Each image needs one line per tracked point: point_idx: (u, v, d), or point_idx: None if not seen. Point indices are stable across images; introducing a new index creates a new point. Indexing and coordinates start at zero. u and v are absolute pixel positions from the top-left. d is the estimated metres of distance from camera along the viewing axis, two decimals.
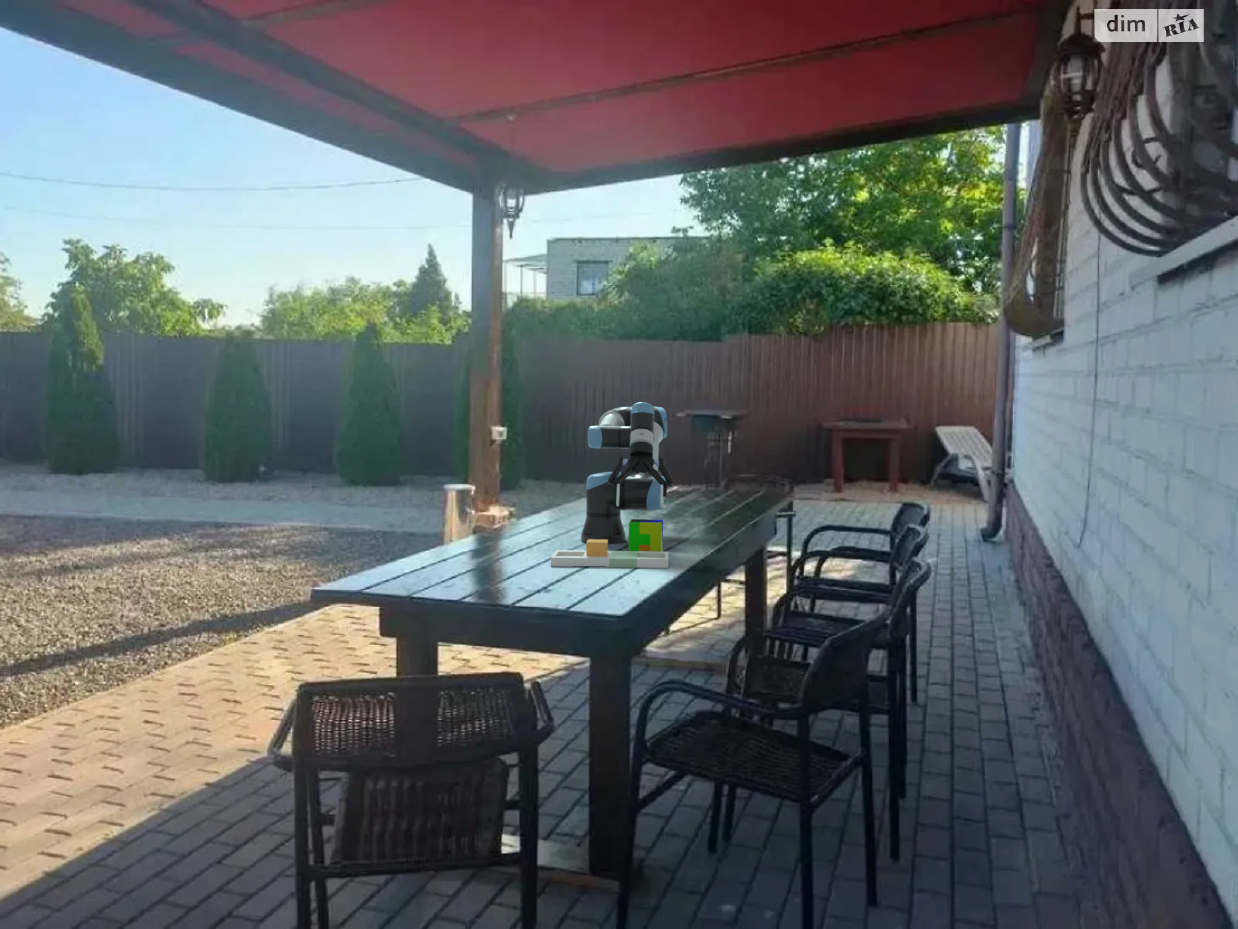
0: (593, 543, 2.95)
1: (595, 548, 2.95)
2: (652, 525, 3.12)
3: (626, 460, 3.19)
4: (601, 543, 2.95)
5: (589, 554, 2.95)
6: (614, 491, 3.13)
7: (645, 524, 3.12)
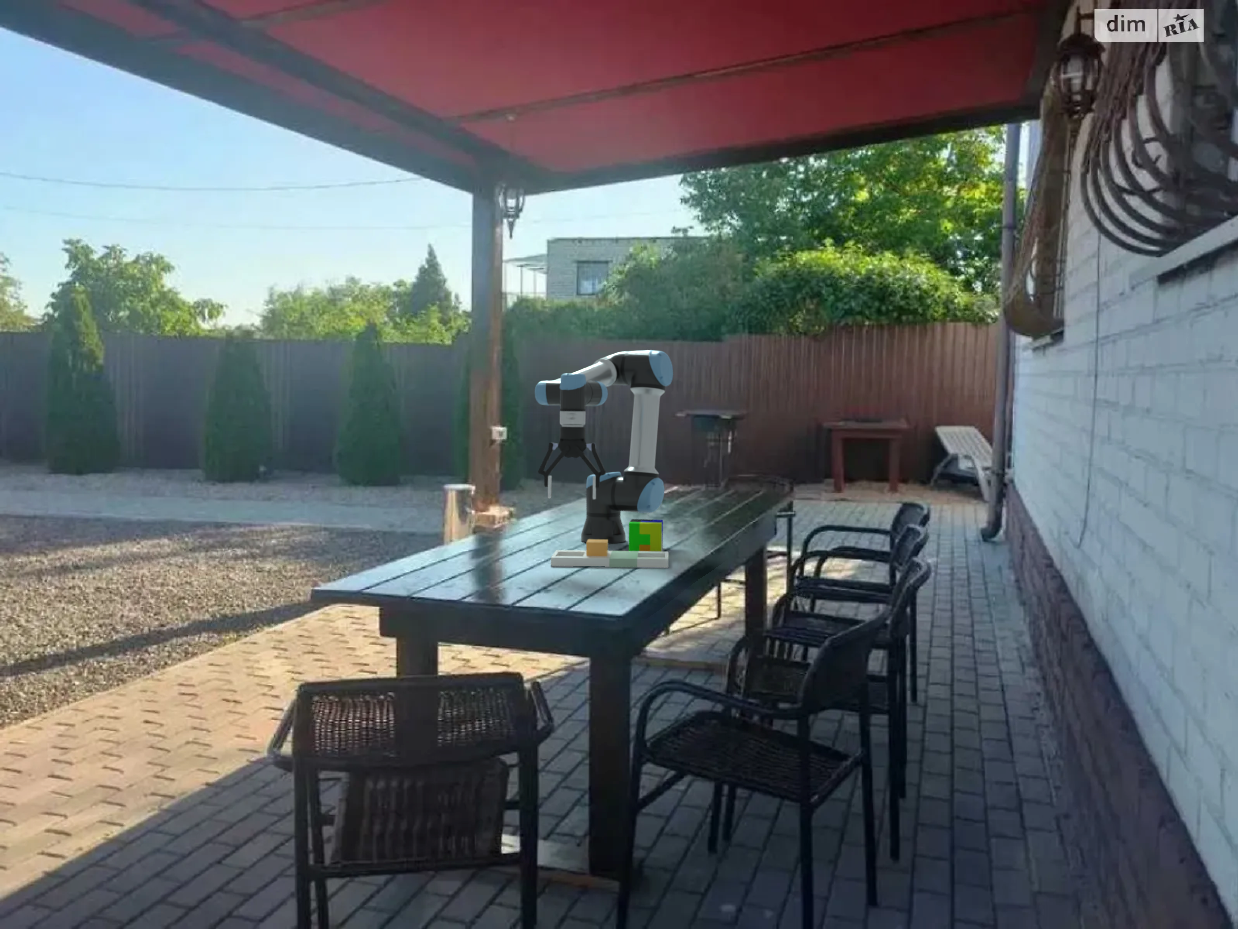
0: (593, 543, 2.95)
1: (595, 548, 2.95)
2: (652, 525, 3.12)
3: (556, 445, 2.96)
4: (601, 543, 2.95)
5: (589, 554, 2.95)
6: (545, 484, 2.97)
7: (645, 524, 3.12)
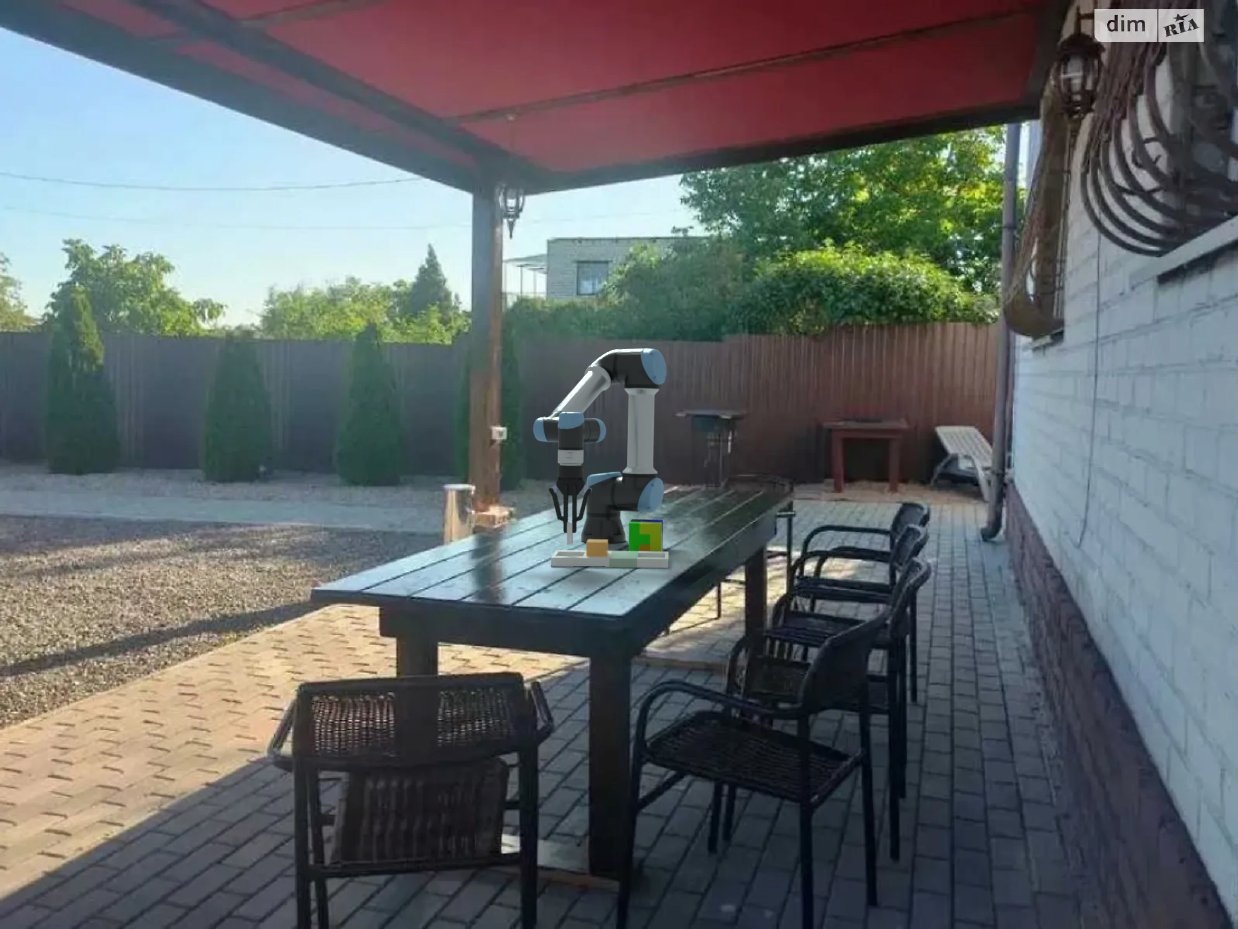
0: (593, 543, 2.95)
1: (595, 548, 2.95)
2: (652, 525, 3.12)
3: (555, 486, 2.97)
4: (601, 543, 2.95)
5: (589, 554, 2.95)
6: (564, 530, 2.97)
7: (645, 524, 3.12)
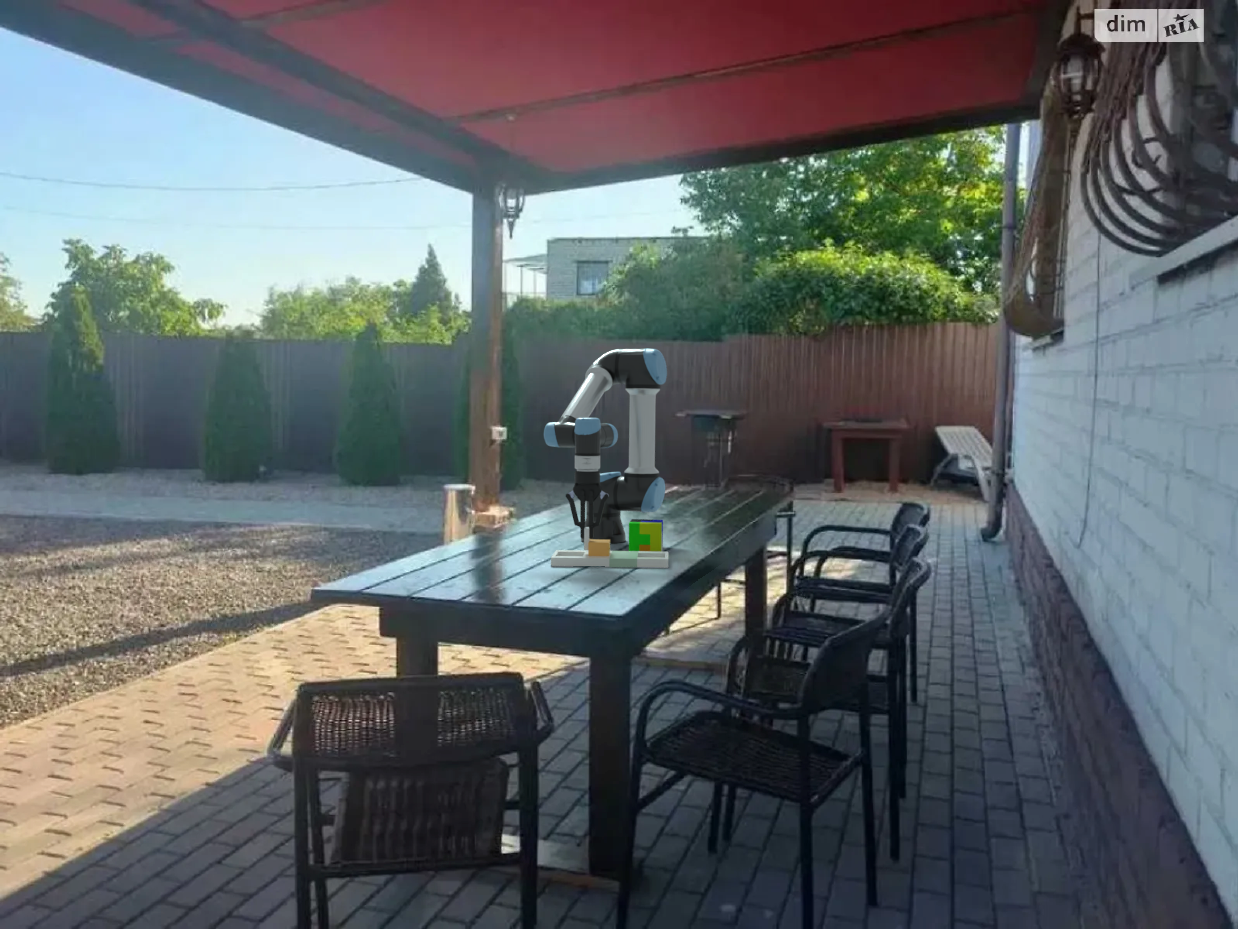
0: (595, 543, 2.95)
1: (597, 548, 2.95)
2: (652, 525, 3.12)
3: (572, 492, 2.97)
4: (603, 543, 2.95)
5: (591, 554, 2.95)
6: (581, 536, 2.97)
7: (645, 524, 3.12)
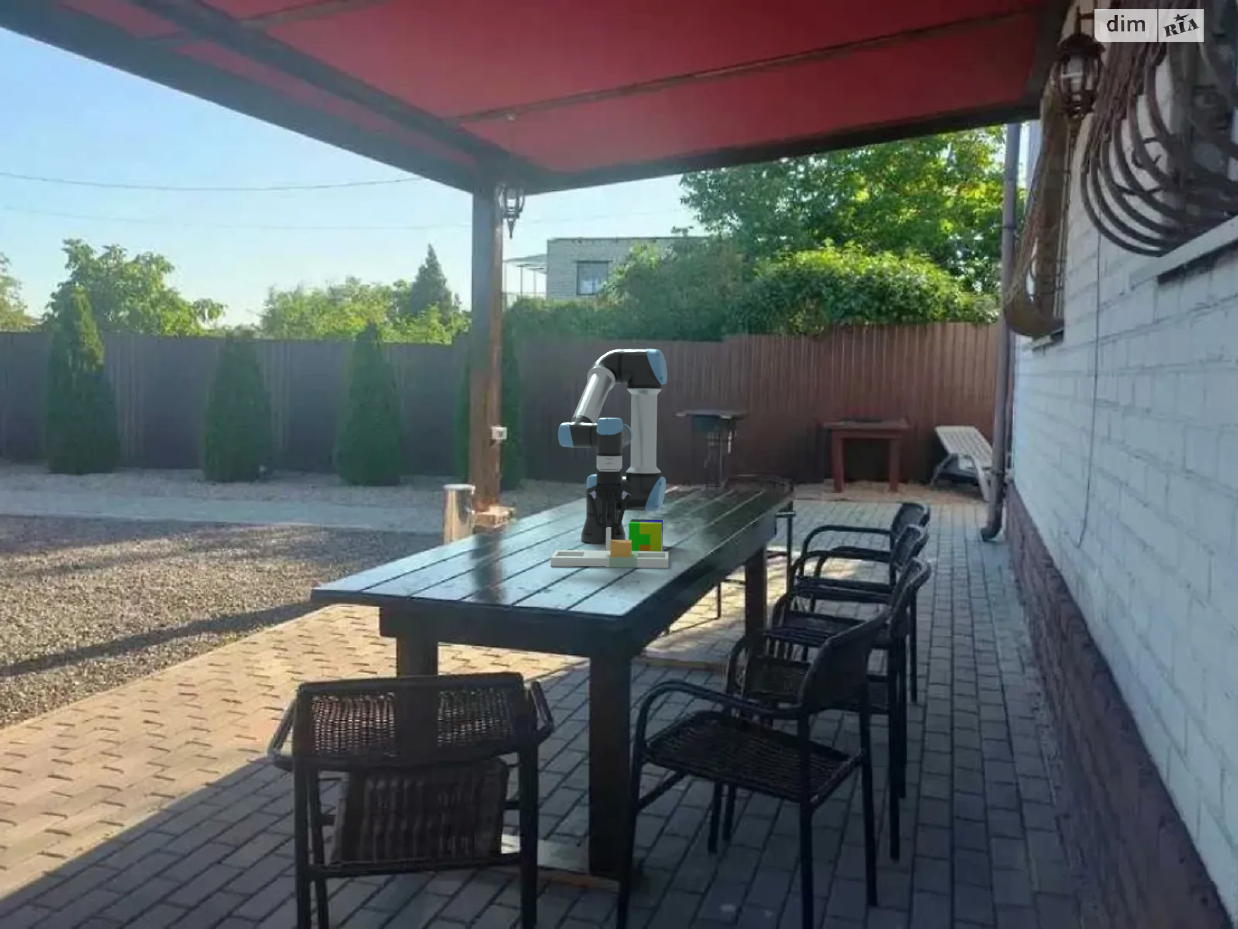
0: (617, 543, 2.95)
1: (619, 548, 2.95)
2: (652, 525, 3.12)
3: (594, 492, 2.97)
4: (625, 543, 2.94)
5: (613, 554, 2.95)
6: (603, 536, 2.97)
7: (645, 524, 3.12)
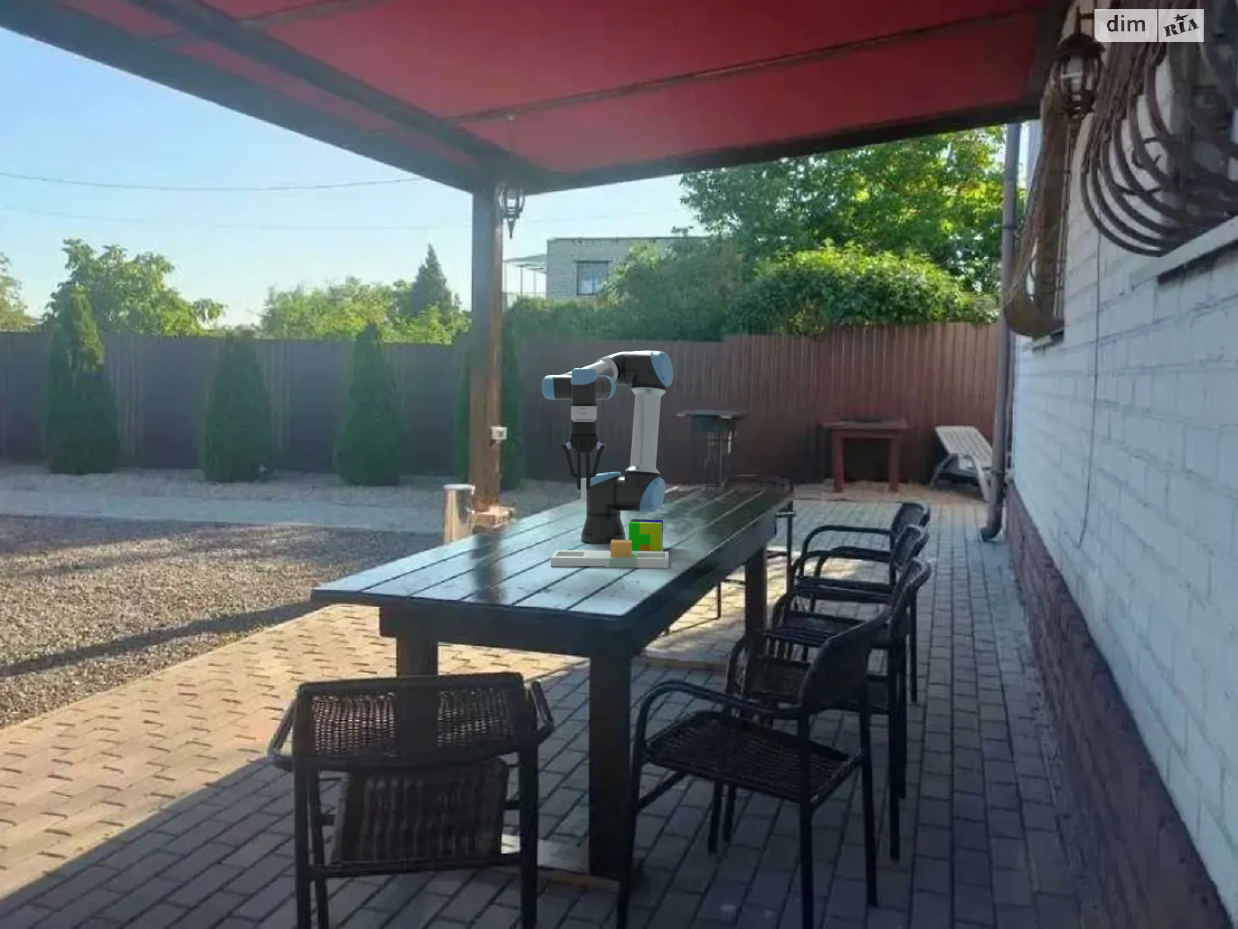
0: (617, 543, 2.95)
1: (619, 548, 2.95)
2: (652, 525, 3.12)
3: (569, 443, 2.96)
4: (625, 543, 2.94)
5: (613, 554, 2.95)
6: (578, 487, 2.97)
7: (645, 524, 3.12)
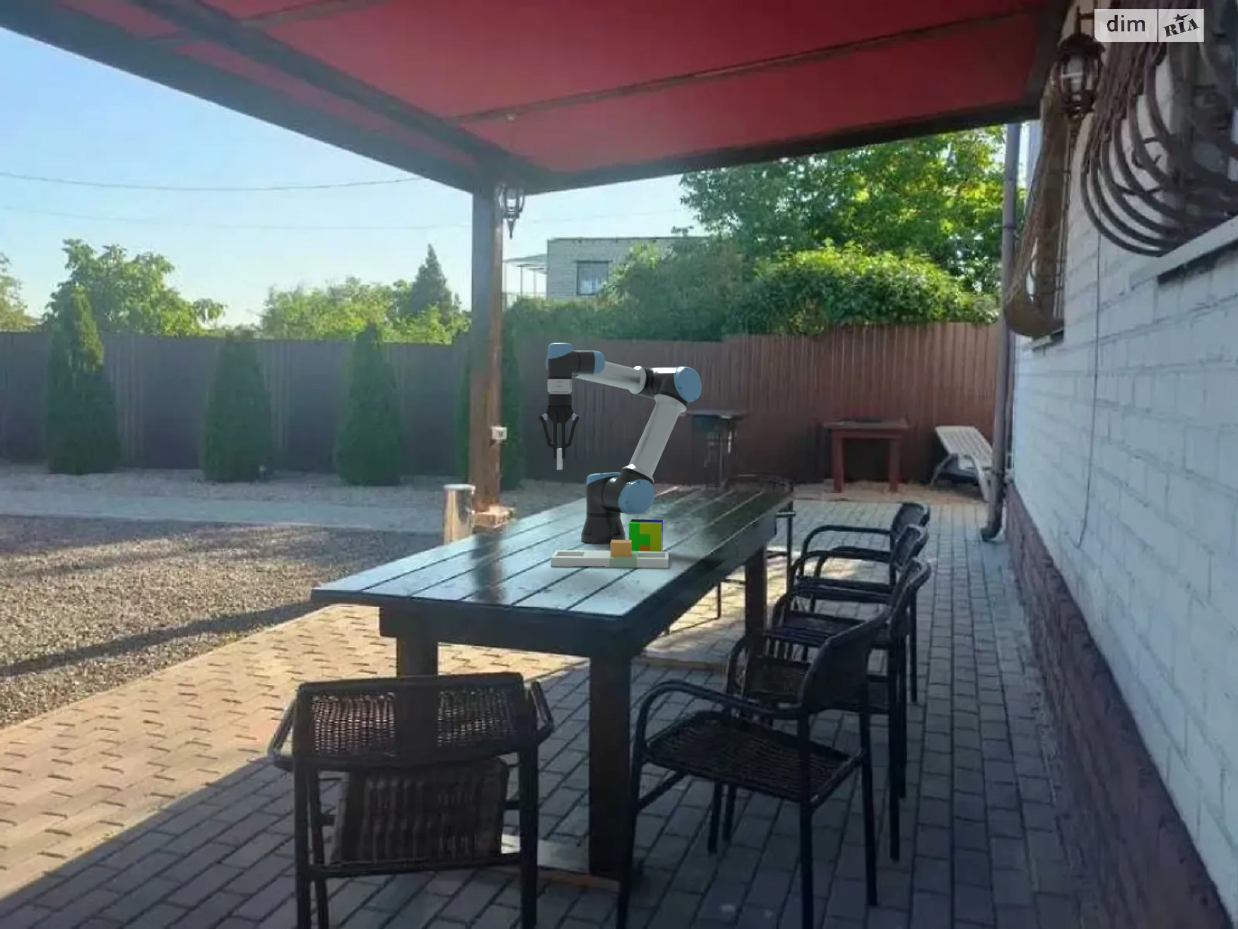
0: (617, 543, 2.95)
1: (619, 548, 2.95)
2: (652, 525, 3.12)
3: (545, 414, 3.12)
4: (625, 543, 2.94)
5: (613, 554, 2.95)
6: (554, 456, 3.12)
7: (645, 524, 3.12)
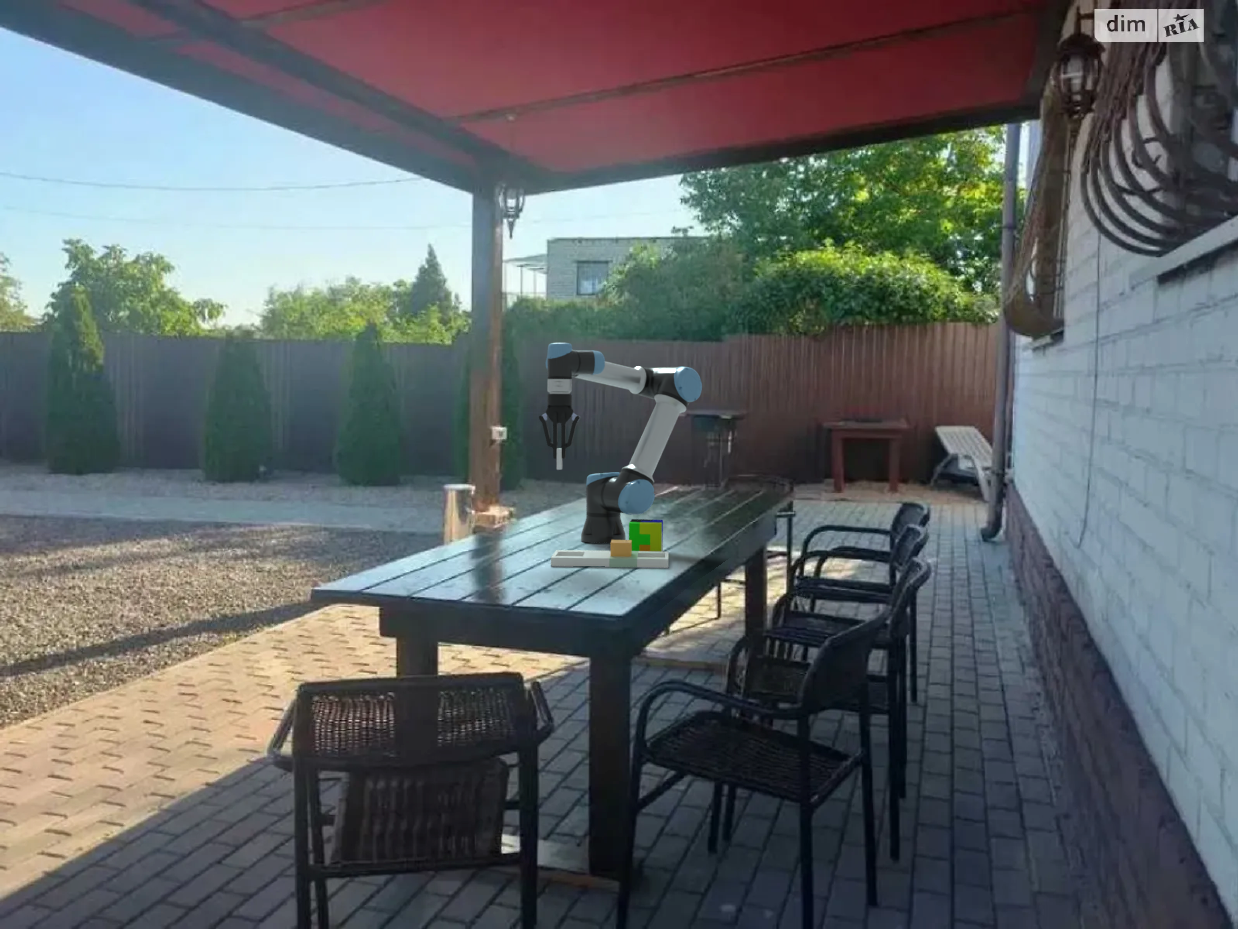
0: (617, 543, 2.95)
1: (619, 548, 2.95)
2: (652, 525, 3.12)
3: (545, 414, 3.12)
4: (625, 543, 2.94)
5: (613, 554, 2.95)
6: (554, 456, 3.12)
7: (645, 524, 3.12)
